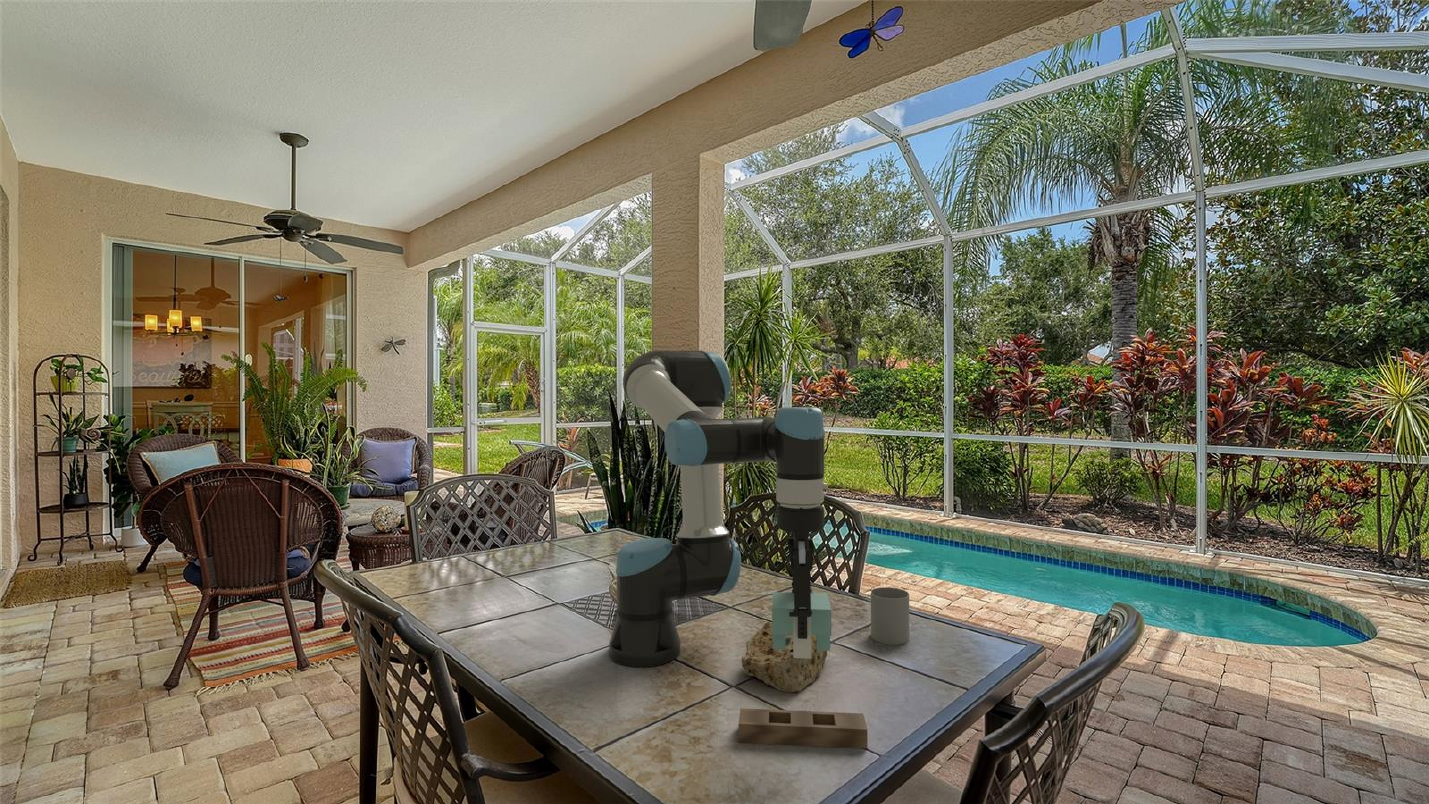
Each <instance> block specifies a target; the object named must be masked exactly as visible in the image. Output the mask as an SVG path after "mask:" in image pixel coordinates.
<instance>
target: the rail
mask: <svg viewBox="0 0 1429 804" xmlns="http://www.w3.org/2000/svg"><path fill="white" fill-rule="evenodd" d="M739 710H740V711H739V717H738V723H737V724H738V727H737V728H738V743H741V744H743V743H744V744H757V745H758V744H761V745H763V744H765V745H782V746H800V747H801V746H803V747H804V746H805V747H820V748H821V747H822V748H823V747H824V748H825V747H826V748H845V749H849V748H850V749H851V748H852V749H864V750H865V749H866V750H867V749H868V727H867V723H866V719H865V715H864V713H863V712H862V713H861V712H860V713H859V712H858V713H857V712H838V711H836V712H835V711H815V710H814V711H811V710H790V709H785V710H784V709H767V708H766V709H762V708H761V709H760V708H742V707H740V709H739Z"/></svg>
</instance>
